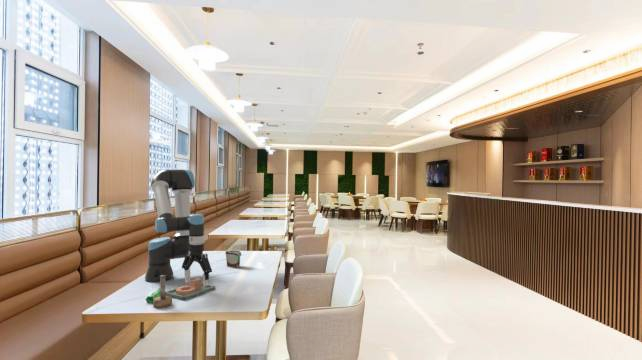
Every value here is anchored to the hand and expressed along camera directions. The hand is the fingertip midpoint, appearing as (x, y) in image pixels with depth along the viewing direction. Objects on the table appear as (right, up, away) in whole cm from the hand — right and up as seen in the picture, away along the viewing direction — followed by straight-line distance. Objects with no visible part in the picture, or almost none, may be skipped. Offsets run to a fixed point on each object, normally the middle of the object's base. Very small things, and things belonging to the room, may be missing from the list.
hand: (196, 283), depth 187 cm
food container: (+9, -3, +49) cm, 50 cm away
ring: (-2, -3, -4) cm, 5 cm away
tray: (-2, -3, -3) cm, 5 cm away
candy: (-16, -4, -13) cm, 21 cm away
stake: (-8, -3, -22) cm, 24 cm away
